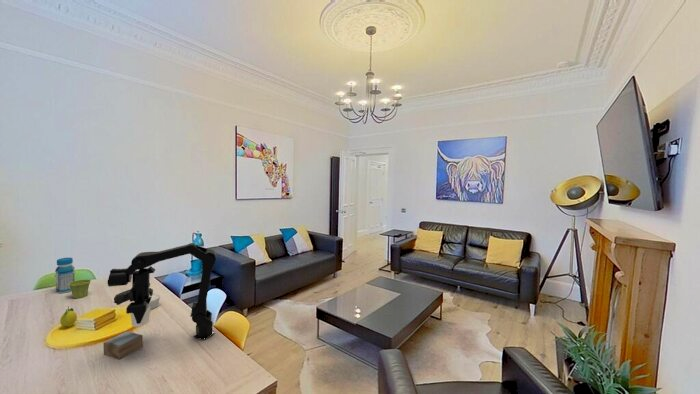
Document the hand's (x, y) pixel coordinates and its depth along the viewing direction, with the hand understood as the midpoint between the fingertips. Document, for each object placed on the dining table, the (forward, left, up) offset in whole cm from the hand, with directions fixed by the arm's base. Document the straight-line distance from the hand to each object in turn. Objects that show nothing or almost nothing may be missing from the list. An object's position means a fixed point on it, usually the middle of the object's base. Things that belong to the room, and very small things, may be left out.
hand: (140, 319), depth 116 cm
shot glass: (0, 0, -2) cm, 2 cm away
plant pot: (+80, -23, -12) cm, 84 cm away
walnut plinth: (+4, +4, -12) cm, 13 cm away
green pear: (+46, 0, -12) cm, 48 cm away
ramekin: (+32, -27, -12) cm, 44 cm away
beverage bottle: (+97, -25, -12) cm, 101 cm away
